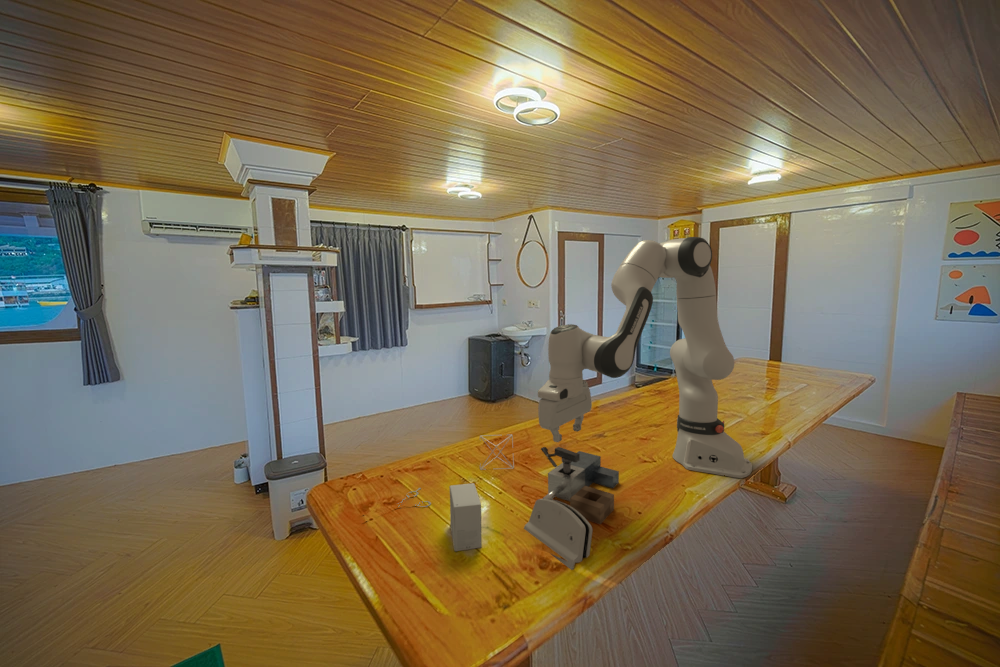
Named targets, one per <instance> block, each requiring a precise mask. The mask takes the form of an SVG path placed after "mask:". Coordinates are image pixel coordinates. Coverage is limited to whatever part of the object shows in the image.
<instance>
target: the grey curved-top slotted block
mask: <svg viewBox="0 0 1000 667" xmlns="http://www.w3.org/2000/svg"><path fill="white" fill-rule="evenodd" d="M523 530H525V531H526V532H528V533H529V534H530V535H531V536H533V537H535V538H536V539H537V540H539V542H542V544H544V545H545V546H547V547H548V548H550V549H551V550H552V551H553V552H555V553H556V554H557V555H559V556H560V557H559V556H557V555H554V554H553V553H550V555H551V556H552V557H554V558H555V559H556V560H557V561H559V562H560V563H561V564H563V565H564V566H566V567H567V568H568V569H569V570H571V571H572V570H574V569H575V566H576V565H575V564H576V563H577V564H579V563H581V562H583V560H584V559H587V558H589V556H590V553H591V545H592V537H593V527H592V525H591V523H590V522H589V520H586V519H585V518H584V517H583V516H582V515H581V514H580V513H579V512H578V511H577V510H575V509H574V508H573V507H571V506H570V504H567V503H565V502H563V501H560V500H557V499H554V498H553V499H543V498H539V499H536V500H535V502H534V505H533V508H532V511H531V514H530V517H529V520H528V522H527V523H526V524H524V527H523ZM561 557H562V558H561Z"/></svg>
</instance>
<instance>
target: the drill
mask: <svg viewBox="0 0 1000 667" xmlns="http://www.w3.org/2000/svg"><path fill="white" fill-rule="evenodd" d="M576 453H578V454H580V460H579V461H578V462H576V463H575V462H573V461H572V462H571V474H570V475H567V474H563V462H561V463H560V464H559V465H557V467H554V468H553V469H551V471H548V473H547V485H548V486H547V490H548V491H547V494H545V495H544V497H543V498H542V499H553V500H554V498H555V497H556V498H558V499H561V500H565V501H567V502H570V498H571V497H572V496H574V495H575V494H576V493H577V492H578V491H579V490H580V489H582V488H583V487H584V486H588V487H591V485H592V484H596V485H599V486H603V487H606V488H610V489H615V487H616V486H617V485H618V484H619V482H620V480H619V479H620V476H619V475H620V474H619V472H620V471H619V470H615V469H611V468H608V467H604V466H601V462H602V461H601V460H602V458H601V457H602V456H601V455H600V456H599V455H597V454H592V453H589V452H584V451H581V450H579V451H577V452H576Z"/></svg>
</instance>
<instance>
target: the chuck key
mask: <svg viewBox="0 0 1000 667" xmlns="http://www.w3.org/2000/svg"><path fill="white" fill-rule="evenodd" d="M554 453H555V457H556V456H557V457H560V458H561V463H563V474H567V475H570V474H571V462H572V461H573V462H575V463H576V462H578V461H579V460H580V454H578V453H577V452H575V451H572V450H570V449H566V448H564V447H560V446H557V447H555V448H554Z"/></svg>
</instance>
